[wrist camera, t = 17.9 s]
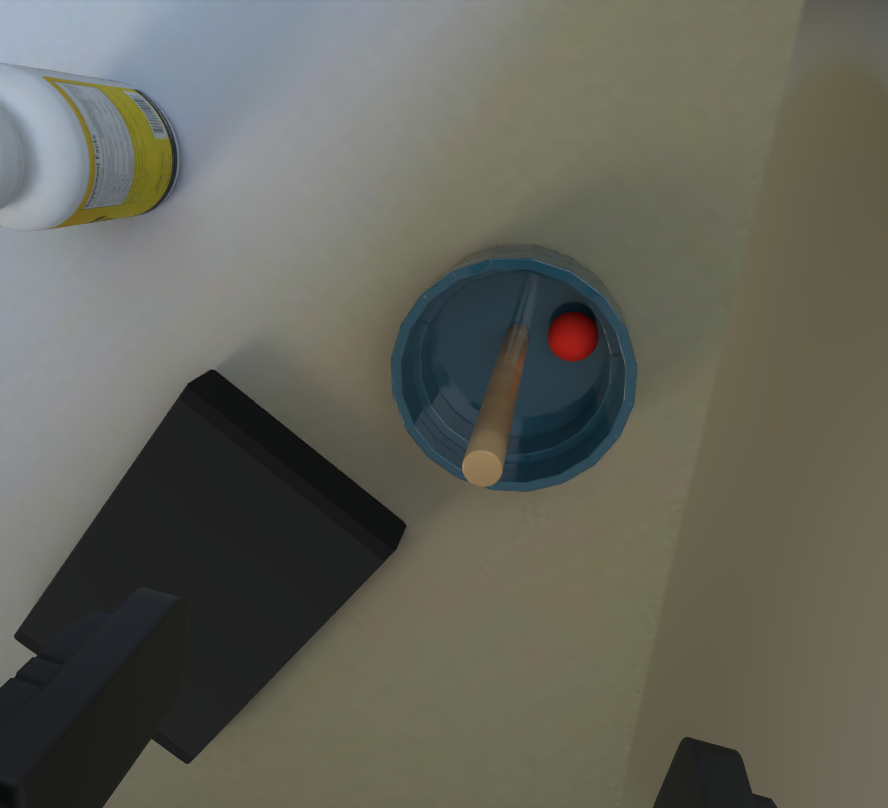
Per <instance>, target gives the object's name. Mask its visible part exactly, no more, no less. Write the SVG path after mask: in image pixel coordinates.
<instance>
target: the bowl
mask: <svg viewBox="0 0 888 808" xmlns="http://www.w3.org/2000/svg"><path fill="white" fill-rule="evenodd" d="M567 312H581V313H583V314H586V315H587V316H589V317H590V318H591V319H592V320H593V321H594V323H595V324H596V326H597V329H598V343H597V346H596V348H595V350H594V351H593V352H592V354H590V355H589V356H588V357H587V358H585V359H583V360H580V361H575V362H570V361H565V360H563V359H561V358H559V357H557V356H556V355H555V354H554V353H553V351H552V350H551V348H550V346H549V343H548V331H549V328H550V326H551V324H552V322H553V321H554V320H555V319H556V318H557V317H558V316H560V315H561V314H564V313H567ZM516 323H519V324H523V325H525V326H526V327H527V328H528V330H529V332H530V338H529V343H528V348H527V353H526V358H525V363H524V368H523V373H522V378H521V383H520V388H519V393H518V398H517V403H516V408H515V413H514V418H513V422H512V427H511V432H510V437H509V442H508V447H507V452H506V457H505V462H504V467H503V472H502V475H501V478H500V479H499V480H498V481H497V482H496V483H495V484H493V485H491V486H487V487H485V488H488V489H491V490H505V491H524V492H527V491H532V490H537V489H541V488H545V487H549V486H554V485H558V484H562V483H565V482H566V481H568V480H570V479H571V478H573V477H575V476H577V475H578V474H580V473H582V472H584V471H585V470H587V469H589V468H590V467H592V466H594V464H596V463H597V462H598V461H599V460H600V459H601V458H602V456H603V455H604V454H605V453H606V452H607V451H608V450H609V449H610V448H611V447H612V445H613V444H614V443H615V442H616V441H617V440H618V439H619V437H620V436H621V433H622V431H623V429H624V426H625V424H626V422H627V419H628V417H629V415H630V413H631V410H632V408H633V406H634V402H635V390H636V376H637V363H636V359H635V356H634V352H633V348H632V345H631V341H630V337H629V334H628V330H627V327H626V324H625V321H624V318H623V315H622V312H621V309H620V308H619V306H618V304H617V303H616V301H615V300H614V298H613V297H612V295H611V294H610V292H609V291H608V290H607V288H606V287H605V285H604V284H603V282H602V281H601V280H600V279H599V277H597V276H596V275H595V274H593V273H592V272H591V271H589V270H588V269H587V268H585V267H584V266H583V265H581V264H580V263H579V262H577V261H576V260H575V259H573V258H570V256H567V255H564V254H561V253H558V252H555V251H552V250H549V249H546V248H542V247H539V246H497V247H494V248H491V249H488V250H485V251H482V252H479V253H476V254H473V255H470V256H468V257H467V258H464V259H463V260H461V261H460V262H459V263H457V264H456V265H455V266H453V267H452V268H451V269H449V270H448V271H447V272H445V273H444V274H443V275H441V276H440V277H439V278H438V279H437V280H436V281H435V282H434V283H433V284H432V285H431V286H430V287H429V288H428V289H427V290H426V291H424V292H423V294H422V295H421V296H420V297H419V299H418V300H417V302H416V303H415V305H414V306H413V307H412V309H411V310H410V312H409V313H408V315H407V316H406V318H405V319H404V321H403V322H402V323H401V326H400V329H399V332H398V336H397V340H396V343H395V347H394V350H393V354H392V357H391V373H392V393H393V398H394V400H395V403H396V406H397V408H398V411H399V413H400V416H401V419H402V421H403V424H404V426H405V428H406V430H407V431H408V433H409V434H410V435H411V437H412V438H413V439H414V440H415V442H416V443H417V444H418V446H419V447H420V448H421V449H422V451H423V452H424V453H425V454H426V456H428V458H430V459H431V460H432V461H434V462H435V463H437V464H438V465H440V466H441V467H442V468H444V469H445V470H447V471H448V472H449V473H451V474H452V475H454V476H455V477H457V478H459V479H462V480H465V481H468V480H467V479H466V478H465V476H464V474H463V472H462V462H463V459H464V456H465V453H466V450H467V447H468V444H469V441H470V438H471V435H472V432H473V429H474V426H475V423H476V420H477V417H478V414H479V411H480V409H481V406H482V403H483V400H484V397H485V394H486V391H487V388H488V385H489V382H490V379H491V376H492V373H493V370H494V367H495V364H496V361H497V358H498V355H499V352H500V349H501V346H502V343H503V340H504V337H505V334H506V331H507V329H508V328H509V327H510V326H511V325H513V324H516ZM468 482H469V481H468Z"/></svg>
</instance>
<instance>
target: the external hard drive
mask: <svg viewBox="0 0 888 808" xmlns="http://www.w3.org/2000/svg"><path fill="white" fill-rule="evenodd" d="M405 528H406V525H405V523H404V522H403V521H402V520H401V519H399V518H398V517H397V516H396V515H394V514H393V513H392V512H391V511H389V510H388V509H387V508H386V507H384V506H383V505H382V504H381V503H380V502H378V501H377V500H376V499H375V498H373V497H372V496H371V495H370V494H368V493H367V492H366V491H365V490H363V489H362V488H361V487H360V486H358V485H357V484H356V483H355V482H353V481H352V480H351V479H350V478H348V477H347V476H346V475H345V474H343V473H342V472H341V471H340V470H338V469H337V468H336V467H335V466H333V465H332V464H331V463H330V462H328V461H327V460H326V459H325V458H323V457H322V456H321V455H320V454H318V453H317V452H316V451H315V450H314V449H312V448H311V447H310V446H309V445H307V444H306V443H305V442H304V441H302V440H301V439H300V438H299V437H297V436H296V435H295V434H294V433H292V432H291V431H290V430H289V429H287V428H286V427H285V426H284V425H282V424H281V423H280V422H279V421H277V420H276V419H275V418H274V417H272V416H271V415H270V414H269V413H267V412H266V411H265V410H264V409H262V408H261V407H260V406H259V405H257V404H256V403H255V402H254V401H252V400H251V399H250V398H249V397H248V396H246V395H245V394H244V393H243V392H241V391H240V390H239V389H238V388H236V387H235V386H234V385H233V384H231V383H230V382H229V381H228V380H226V379H225V378H224V377H223V376H221V375H220V374H219V373H218V372H216V371H214V370H209V371H208V372H206V373H205V374H203V375H201V376H200V377H198V378H196V379H195V380H193V381H191V382H190V383H188V384H187V386H186V387H185V389H184V390H183V392H182V393H181V395H180V396H179V397H178V399H177V400H176V402H175V403H174V405H173V406H172V408H171V409H170V411H169V412H168V413H167V415H166V416H165V418H164V419H163V421H162V422H161V424H160V425H159V426H158V428H157V429H156V431H155V432H154V434H153V435H152V437H151V438H150V439H149V441H148V442H147V444H146V445H145V447H144V448H143V450H142V451H141V453H140V454H139V455H138V457H137V458H136V460H135V461H134V463H133V464H132V466H131V467H130V468H129V470H128V471H127V473H126V474H125V476H124V477H123V479H122V480H121V481H120V483H119V484H118V486H117V487H116V489H115V490H114V492H113V493H112V494H111V496H110V497H109V499H108V500H107V502H106V503H105V505H104V506H103V508H102V509H101V510H100V512H99V513H98V515H97V516H96V518H95V519H94V521H93V522H92V523H91V525H90V526H89V528H88V529H87V531H86V532H85V534H84V535H83V536H82V538H81V539H80V541H79V542H78V544H77V545H76V547H75V548H74V549H73V551H72V552H71V554H70V555H69V557H68V558H67V560H66V561H65V563H64V564H63V565H62V567H61V568H60V570H59V571H58V573H57V574H56V576H55V577H54V578H53V580H52V581H51V583H50V584H49V586H48V587H47V589H46V590H45V591H44V593H43V594H42V596H41V597H40V599H39V600H38V602H37V603H36V605H35V606H34V607H33V609H32V610H31V612H30V613H29V615H28V616H27V618H26V619H25V620H24V622H23V623H22V625H21V626H20V628H19V629H18V631H17V632H16V633H15V635H14V638H15V639H16V640H17V641H19V642H20V643H21V644H23V645H24V646H25V647H27V648H28V649H30V650H31V651H32V652H34V653H35V654H36V655H38V652H39V651H40V650H41V649H42V648H43V647H44V646H45V645H46V644H47V643H48V642H49V641H50V640H51V639H52V638H53V637H55V636H56V635H57V634H58V633H59V632H60V631H61V630H62V629H63V628H64V627H66V626H68V625H70V624H72V623H74V622H76V621H78V620H80V619H82V618H84V617H86V616H88V615H89V614H91V613H93V612H95V611H97V610H99V611H102V612H106V613H110V614H113V613H114V612H115V611H116V610H117V609H118V608H119V607H120V606H121V605H122V603H123V602H124V601H125V600H126V599H127V598H128V597H129V596H130V595H131V594H132V593H133V592H135V591H136V590H137V589H139V588H141V587H145V588H148V589H152V590H156V591H159V592H163V593H167V594H170V595H174V596H178V597H181V598H185V599H187V600H188V603H189V625H188V642H187V659H186V672H185V678H184V682H183V685H182V688H181V691H180V694H179V696H178V698H177V700H176V702H175V704H174V706H173V708H172V710H171V711H170V713H169V714H168V716H167V717H166V718H165V720H164V721H163V723H162V724H161V725H160V727H159V728H158V730H157V731H156V733H155V734H154V735H153V737H152V738H151V739H153V740H154V741H155V742H157V743H158V744H160V745H161V746H162V747H164V748H165V749H166V750H168V751H169V752H170V753H172V754H173V755H175V756H176V757H177V758H179V759H180V760H181V761H183V762H184V763H186V764H189V763H190V762H191V761H192V760H193V759H194V758H195V757H196V756H197V755H198V754H199V753H200V752H201V751H202V750H203V749H204V748H205V747H206V746H207V745H208V744H209V743H210V742H211V741H212V740H213V739H214V738H215V736H216V735H217V734H218V733H219V732H220V731H221V730H222V729H223V728H224V727H225V726H226V725H227V724H228V723H229V722H230V721H231V720H232V719H233V718H234V717H235V716H236V715H237V714H238V713H239V712H240V711H241V710H242V709H243V708H244V706H245V705H246V704H247V703H248V702H249V701H250V700H251V699H252V698H253V697H254V696H255V695H256V694H257V693H258V692H259V691H260V690H261V689H262V688H263V687H264V686H265V685H266V684H267V683H268V682H269V681H270V680H271V679H272V677H273V676H274V675H275V674H276V673H277V672H278V671H279V670H280V669H281V668H282V667H283V666H284V665H285V664H286V663H287V662H288V661H289V660H290V659H291V658H292V657H293V656H294V655H295V654H296V653H297V652H298V651H299V650H300V649H301V647H302V646H303V645H304V644H305V643H306V642H307V641H308V640H309V639H310V638H311V637H312V636H313V635H314V634H315V633H316V632H317V631H318V630H319V629H320V628H321V627H322V626H323V625H324V624H325V623H326V622H327V621H328V620H329V618H330V617H331V616H332V615H333V614H334V613H335V612H336V611H337V610H338V609H339V608H340V607H341V606H342V605H343V604H344V603H345V602H346V601H347V600H348V599H349V598H350V597H351V596H352V595H353V594H354V593H355V592H356V591H357V590H358V588H359V587H360V586H361V585H362V584H363V583H364V582H365V581H366V580H367V579H368V578H369V577H370V576H371V575H372V574H373V573H374V572H375V571H376V570H377V569H378V568H379V567H380V566H381V565H382V564H383V563H384V562H385V561H386V559H387V558H388V557H389V556H390V555H391V554H392V553H393V552H394V551H395V550H396V549H397V547H398V544H399V542H400V540H401V537H402V535H403V533H404V530H405Z"/></svg>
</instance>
